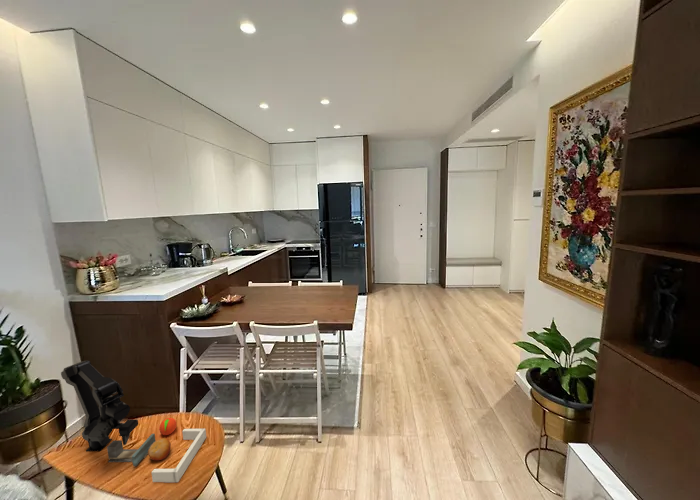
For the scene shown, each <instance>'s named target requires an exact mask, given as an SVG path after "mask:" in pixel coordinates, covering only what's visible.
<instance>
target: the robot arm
mask: <svg viewBox="0 0 700 500" xmlns="http://www.w3.org/2000/svg"><path fill="white" fill-rule="evenodd" d="M60 375H61V379H63V380H64V381H65V382H66V384H68V385H70V386H72V387H73V388H74V391H75V393H76V395H77V398H78V400H79V402H80V405H81V408H82V410H83V413H84V415H85V419H84V423H83V427H84V429H83V431H82V432H81V436H82V438H83V440H84V441H86V442H87V443H88V448H87V449H86V450H85V451H86V452H101V451H102V450H103V449H105V447H106V446H108V445H109V444H110V442H112V441H113V439H112V438H110V435H111V433H112V432H113V430H118V434H119V435H118V436H119V437H121V440H122V445H123V446H127V445H126V444H127V443H128V442H129V438H130V435H131V433H132V432H133V431H134V430H135V428H137V426H139V420H138V419H135V418H133V419H132V418H131V419H130V418H129V419H126V421H124V422H121V421H122V420H123V419H125V418H126V417H127V416H128V415H129V413H130V412H131V411H130V409H131V406H130V405H128V404H127V403H125V402H123V401H122V400H121V398H123V397H124V390H123V389H122V387H121V385H120V383H119V382H118V381H117V380H115V379H113V378H112V377H106V376H104V375H102V373H100V372H99V370H98V369H96V368H95V367H94V366H93V365H92V363H91V361H90V360H83V361H79V362H76V363H74V364H72V365H69V366H66V367H63V370H62V371H61V372H60Z"/></svg>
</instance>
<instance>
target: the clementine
mask: <svg viewBox="0 0 700 500" xmlns="http://www.w3.org/2000/svg"><path fill="white" fill-rule="evenodd" d="M176 428H177V420H176V419H175V418H173V417H167V418H165V419H164V420H162V422H160V424H159V429H158V430H159V433H160V434H161V435H163V436H168V435H171V434H172V433H174V431H175V430H176Z"/></svg>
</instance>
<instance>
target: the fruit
mask: <svg viewBox="0 0 700 500" xmlns="http://www.w3.org/2000/svg"><path fill="white" fill-rule="evenodd" d="M155 440H156V441H155V442H154V443H153V444H152V445H151V446H150V448H149V450H148V455H147V456H148V457H149V459H150V460H153V461H161V460H165V459H166V458H167V457H168V456H169V455H170V453H171V446H172V445H171V441H170V440H169V438H166V437H161V438H158V439H155Z"/></svg>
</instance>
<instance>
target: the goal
mask: <svg viewBox="0 0 700 500" xmlns="http://www.w3.org/2000/svg"><path fill="white" fill-rule="evenodd" d="M206 439H207V431H206V428H184V429H183V430H182V440H183V441H185V440H187V441H189V440H192V441H193V442H192V443H191V444H190V446H189V448H188V449H187V451H186V452H185V454H184V455H183V456H182V458H181V459H180V461H179V463H178V464H177V466H176V467H175V468H154V469H153V470H152V471H151V480H152V483H179V482H180V480H181V479H182V476H183V475H184V474H185V472H186V470H187V469H188V467H189V466H190V464H191V462H192V461H193V459H194V458H195V456H196V455H197V453H198V452H199V450H200V448H201V447H202V445H203V444H204V442H205V440H206Z"/></svg>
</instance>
